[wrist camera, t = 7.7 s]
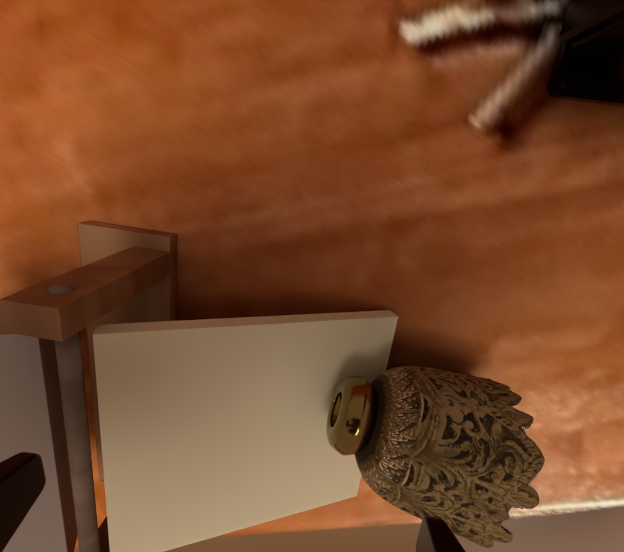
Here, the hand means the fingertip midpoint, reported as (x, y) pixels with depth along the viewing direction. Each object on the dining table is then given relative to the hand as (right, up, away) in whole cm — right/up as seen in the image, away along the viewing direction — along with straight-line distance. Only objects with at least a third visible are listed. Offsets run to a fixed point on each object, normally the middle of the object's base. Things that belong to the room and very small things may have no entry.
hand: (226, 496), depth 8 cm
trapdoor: (-6, -2, +11) cm, 13 cm away
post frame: (-9, -1, +14) cm, 17 cm away
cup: (+3, -1, +9) cm, 9 cm away
